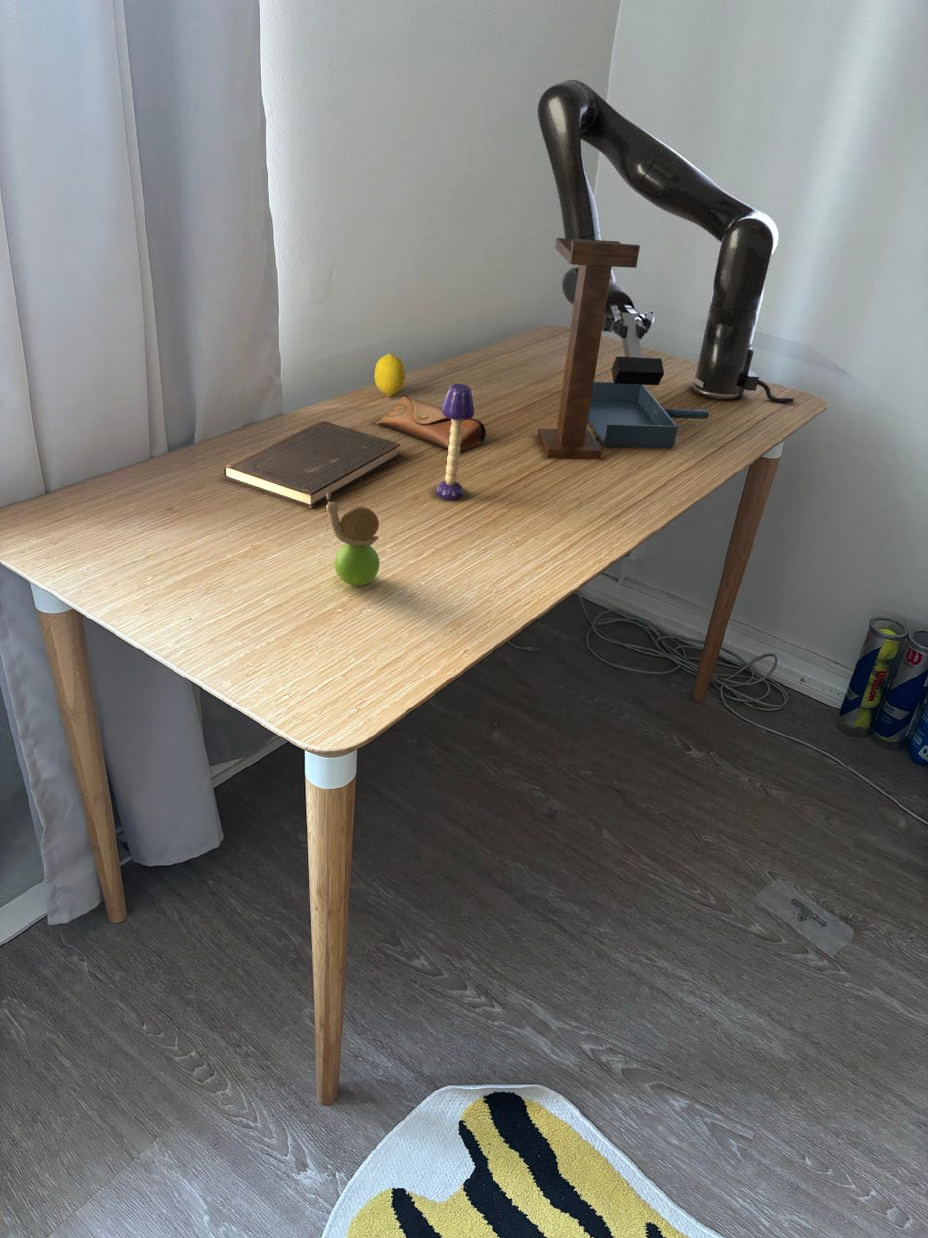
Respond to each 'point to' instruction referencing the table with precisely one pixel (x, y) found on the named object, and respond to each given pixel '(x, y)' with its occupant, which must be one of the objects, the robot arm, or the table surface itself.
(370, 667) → the table surface
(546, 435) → the stand
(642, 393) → the scoop
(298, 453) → the hardcover book
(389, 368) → the lemon
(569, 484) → the table surface
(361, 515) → the snail figurine
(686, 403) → the table surface
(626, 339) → the t-shaped mallet
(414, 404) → the sunglasses case
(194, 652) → the table surface
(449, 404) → the toy lamp
